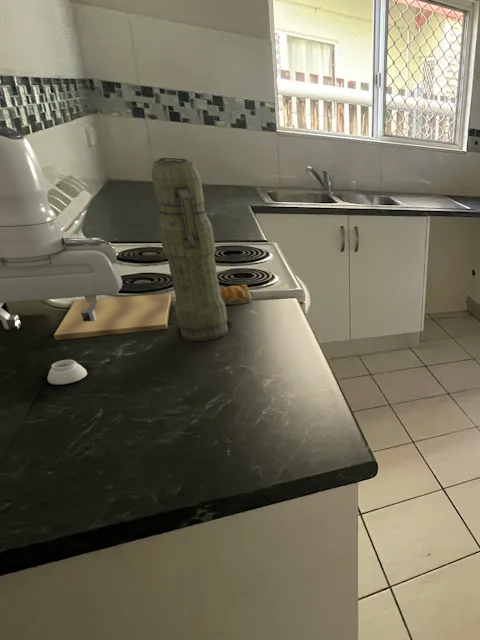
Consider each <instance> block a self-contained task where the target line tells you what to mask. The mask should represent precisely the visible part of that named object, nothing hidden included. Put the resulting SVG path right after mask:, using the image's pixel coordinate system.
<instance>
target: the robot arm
mask: <svg viewBox="0 0 480 640" xmlns="http://www.w3.org/2000/svg"><path fill="white" fill-rule="evenodd" d="M117 259H118V256H117V253H116V249H115V247H114V245H113V244H112V243H111V242H109V241H107V240H104V239H101V238H100V237H87V238H84V237H83V238H82V237H81V238H80V237H66V238H64V236H63V233H62V229H61V226H60V223H59V220H58V217H57V214H56V213H55V211H54V210H53V209H52V207H51V205H50V203H49V187H48V185H47V182H46V178H45V175H44V173H43V170H42V167H41V164H40V162H39V159H38V157H37V155H36V153H35V151H34V148H33V147H32V145H31V144H30V142H29V141H28V139H27V138H26V137H25V136H24V135H23V134H22V133H21V132H19V131H17V130H16V129H13V128H11V127H9V126H6V125H2V124H0V321H1V322H2V326H3V328H4V329H5V330H13V329H15V330H16V329H19V328H20V327H21V326H22V325H21V321H20V320H19V319H20V317H19V315H18V314H10V313H9V312H8V311H6V310H5V309H3V308H2V307H3V306H4V304H7V303H20V302H33V301H34V302H35V301H45V300H57V299H59V300H60V299H72V298H84V300H86V302H91V304H90V306H89V308H88V309H83V310H82V311H81V315H82V317H83V321H84V322H88V321H95V320H96V313H95V310H94V308H95V306H96V304H97V302H98V300H99V299H100V296H109V295H117V294H118V293H119V292H120V291H121V289H122V288H123V279H122V276H121V274H120V271H119V269H118V267H117V265H116V262H117Z"/></svg>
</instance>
